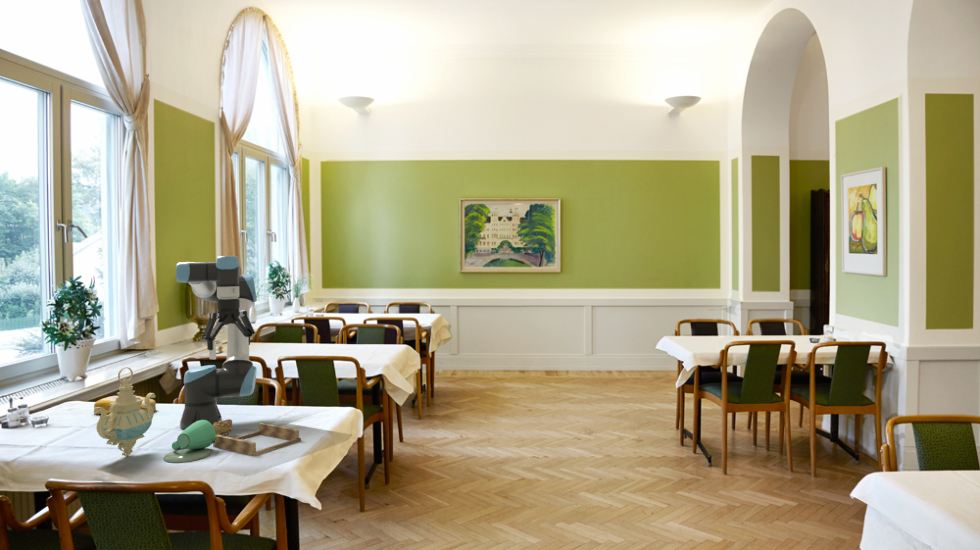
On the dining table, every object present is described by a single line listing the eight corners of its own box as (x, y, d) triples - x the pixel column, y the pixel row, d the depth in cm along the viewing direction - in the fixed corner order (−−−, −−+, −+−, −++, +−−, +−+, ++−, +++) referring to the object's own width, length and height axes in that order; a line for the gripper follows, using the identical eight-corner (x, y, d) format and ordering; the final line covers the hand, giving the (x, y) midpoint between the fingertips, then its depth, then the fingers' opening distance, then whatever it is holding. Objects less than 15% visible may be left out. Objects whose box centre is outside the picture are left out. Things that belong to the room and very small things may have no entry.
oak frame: (213, 446, 216) (213, 435, 216) (260, 433, 233) (260, 422, 233) (254, 455, 205) (254, 443, 204) (300, 440, 222) (300, 429, 222)
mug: (200, 449, 204) (219, 441, 213) (189, 421, 205) (209, 415, 214) (165, 465, 206) (186, 457, 216) (155, 438, 207) (176, 431, 217)
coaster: (154, 458, 203) (154, 456, 203) (194, 447, 215) (194, 445, 215) (180, 465, 196) (179, 463, 196) (219, 453, 208) (219, 451, 208)
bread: (110, 410, 275) (109, 393, 275) (163, 412, 271) (163, 394, 271) (86, 418, 262) (85, 399, 262) (142, 419, 258) (141, 400, 258)
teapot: (112, 468, 193) (109, 374, 193) (82, 466, 196) (79, 373, 195) (168, 446, 216) (166, 362, 216) (141, 445, 219) (139, 361, 219)
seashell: (208, 443, 228) (218, 417, 233) (229, 447, 229) (239, 421, 233) (200, 437, 220) (211, 411, 225) (223, 442, 220) (233, 415, 225)
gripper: (203, 300, 210) (204, 362, 210) (263, 296, 231) (264, 352, 232) (190, 300, 214) (191, 360, 214) (250, 296, 235) (252, 351, 235)
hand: (229, 356), depth 223 cm, fingers open, 13 cm apart
